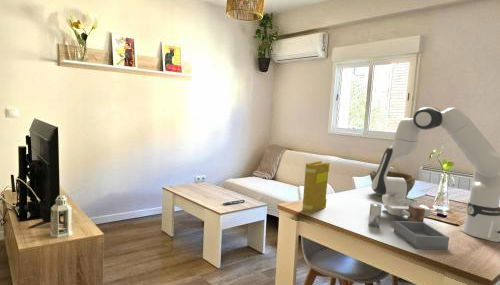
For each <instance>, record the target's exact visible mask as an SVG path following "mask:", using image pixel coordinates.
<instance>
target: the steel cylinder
mask: <svg viewBox="0 0 500 285" xmlns="http://www.w3.org/2000/svg"><path fill="white" fill-rule="evenodd" d="M368 215H369V216H368V226H369V227H371V226H372V228H380V226H381V225H380V224H381V215H382V205H381V204H379V203H370V204H369V214H368Z"/></svg>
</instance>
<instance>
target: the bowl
mask: <svg viewBox="0 0 500 285" xmlns="http://www.w3.org/2000/svg"><path fill="white" fill-rule="evenodd" d="M376 173H377V172H376V171H375V170H372V171H370V172H369V178H370V181H371V182H372V181H373V179H374V177H375V175H376ZM386 177H398V178H404V179H405V180H406V181H407V183H408V185H409V192H411V191H412V190H413V188H414V186H415V183H416V177H415V176H414V175H413V174H408V173H405V172H399V171H392V170H389V171H388V173H387V176H386Z"/></svg>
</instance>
